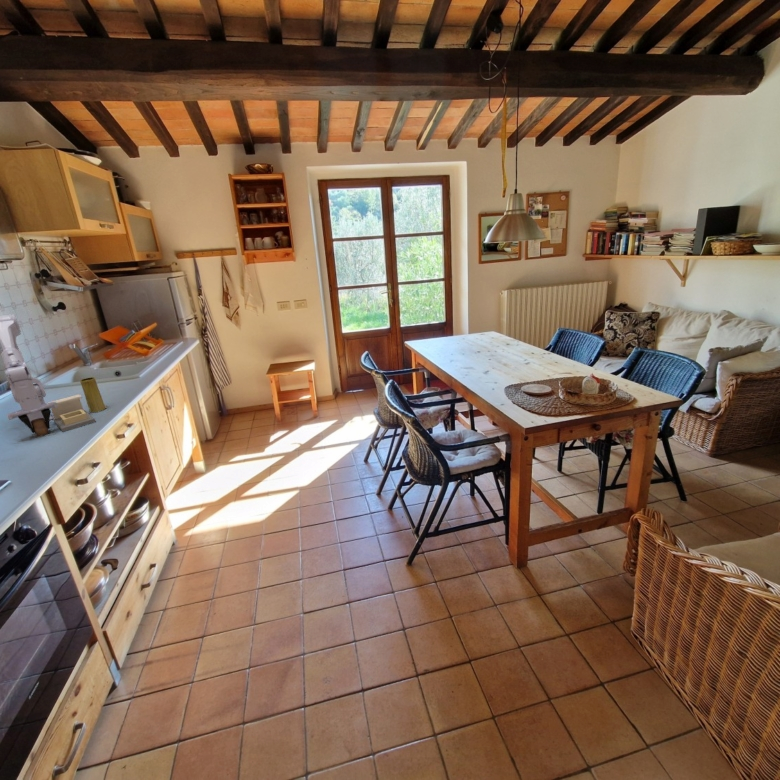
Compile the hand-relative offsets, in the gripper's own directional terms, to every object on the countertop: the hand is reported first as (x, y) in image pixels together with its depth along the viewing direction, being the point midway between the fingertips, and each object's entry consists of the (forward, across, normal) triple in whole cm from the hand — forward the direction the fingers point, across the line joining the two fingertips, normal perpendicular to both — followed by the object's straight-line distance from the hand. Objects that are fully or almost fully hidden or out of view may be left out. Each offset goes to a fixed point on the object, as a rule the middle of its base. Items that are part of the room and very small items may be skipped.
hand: (41, 430), depth 157 cm
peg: (+2, 0, 0) cm, 2 cm away
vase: (+2, +21, +11) cm, 24 cm away
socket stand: (+2, +11, +3) cm, 12 cm away
